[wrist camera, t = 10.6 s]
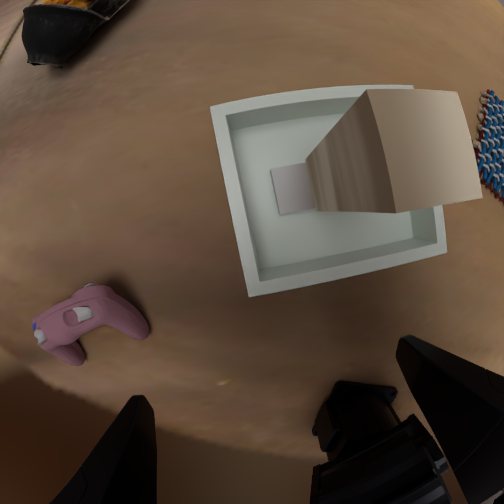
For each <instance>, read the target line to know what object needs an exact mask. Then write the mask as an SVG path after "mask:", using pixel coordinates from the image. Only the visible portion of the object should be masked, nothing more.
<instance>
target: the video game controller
mask: <svg viewBox="0 0 504 504" xmlns="http://www.w3.org/2000/svg"><path fill="white" fill-rule="evenodd" d="M32 325H33V330H34V335H35V337H36V339H37V341H38V345H40V347H41V348H42V349H43V350H45V351H47V352H49V353H52V354H54V355H55V356H57V357H59V358H60V359H62V360H63V361H65V362H67V363H69V364H71V365H74V366H79V365H82V364H83V363H84V361H85V355H84V352H83V350H82V348H81V347H80V345H79V344H78V343H77V342H76V340H77V339H78V338H79V337H80V336H81V335H83V334H84V333H86V332H89V331H91V330H93V329H95V328H97V327H99V326H101V325H109V326H112V327H114V328H116V329H118V330H120V331H122V332H123V333H125V334H127V335H128V336H130V337H132V338H134V339H138V340H144V339H146V338H147V337H148V335H149V327H148V324H147V322H146V320H145V319H144V317H143V316H142V314H141V313H140V312H139V311H138V310H137V309H136V308H135V307H134V306H133V305H132V304H131V303H129V302H128V301H127V300H125V299H124V298H122V297H120V296H119V295H117V294H116V293H114V291H113V289H112V288H111V287H108V286H104V285H97V284H94V283H89V284H87V285H85V286H84V288H82V289H80V290H78V291H76V292H75V293H74V294H73V295H72V297H71V298H70V299H67V300H65V301H63V302H60V303H58V304H56V305H54V306H53V307H51V308H49V309H48V310H46V311H45V312H43V313H42V314H41V315H39V316H36V317H34V318H33V319H32Z"/></svg>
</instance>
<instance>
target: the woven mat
mask: <svg viewBox="0 0 504 504" xmlns="http://www.w3.org/2000/svg"><path fill="white" fill-rule="evenodd" d="M480 93H481V94H482V95H483V96H484V97H485V98H483V97H481V99H480V100H481V103H482V104H483V108H481V107H480V106H478V110H479V111H480V112H481V113H480V114H478V119H479V120H480V121H481V123H482V125H480V124H478V126H477V129H478V130H479V131H480V135H479V134H478V133H476V137H475V138H476V139H478V141H476V140H473V147H475V151H476V154H475V158H476V163H477V168H478V173H479V178H480V179H481V180H482V184H484V185H487V186H488V187H487V188H488V189H492V192H493V193H494V194H495V196H496V198H497V199H498V198H499V197H500V198H501V201H502V202H504V120H503V119H504V107H503V105H504V102H503V101H502V100H501V101H500V100H499V99H498V97H497V96H495V97H494V93H495V92H494V91H492V90H491V91H490V90H489V89H488V90H487V94H486V91H485V93H483V92H482V91H481V92H480ZM482 172H483V173H482ZM492 182H493V183H492ZM501 186H502V187H501Z"/></svg>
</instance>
